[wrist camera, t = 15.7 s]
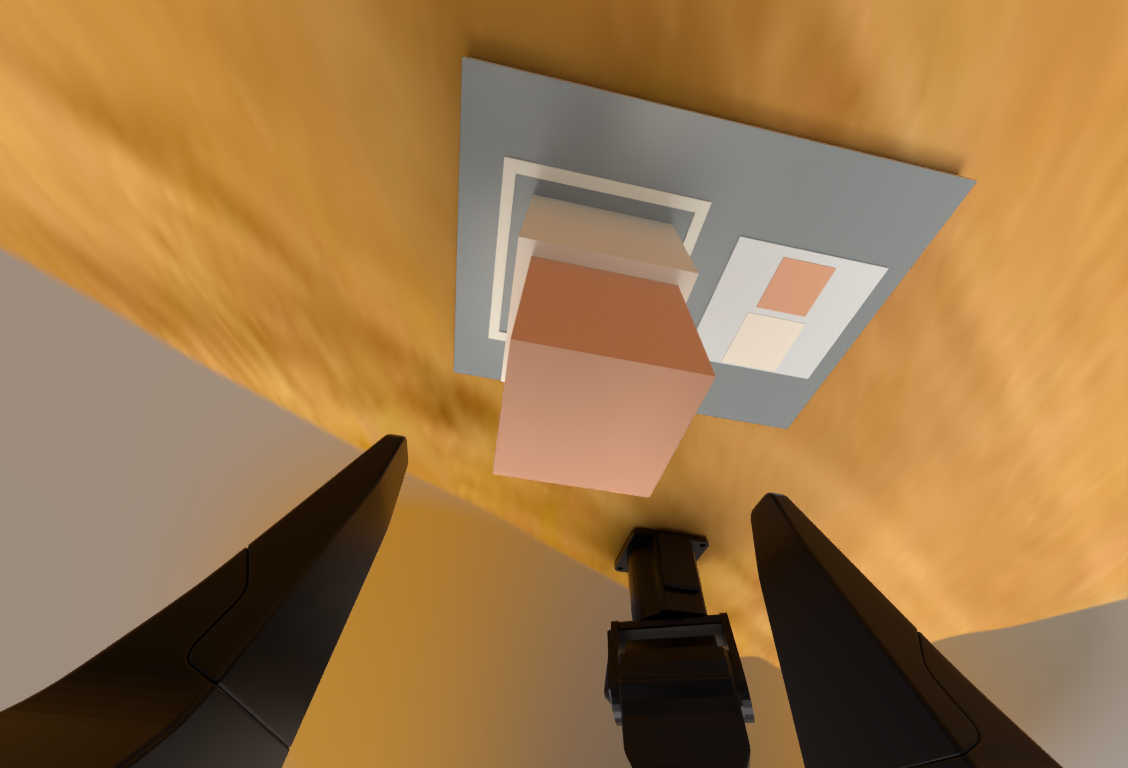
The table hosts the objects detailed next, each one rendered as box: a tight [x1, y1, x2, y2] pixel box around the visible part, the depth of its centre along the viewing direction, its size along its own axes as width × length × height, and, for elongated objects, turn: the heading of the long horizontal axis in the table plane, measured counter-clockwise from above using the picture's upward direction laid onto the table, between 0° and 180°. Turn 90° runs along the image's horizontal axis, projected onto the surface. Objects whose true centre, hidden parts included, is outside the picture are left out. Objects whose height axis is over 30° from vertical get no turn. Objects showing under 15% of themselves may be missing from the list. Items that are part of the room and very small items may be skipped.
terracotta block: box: [493, 256, 716, 498], centre depth 13 cm, size 5×5×5 cm
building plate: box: [454, 57, 977, 429], centre depth 20 cm, size 14×20×1 cm
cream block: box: [501, 194, 699, 382], centre depth 17 cm, size 6×6×5 cm
